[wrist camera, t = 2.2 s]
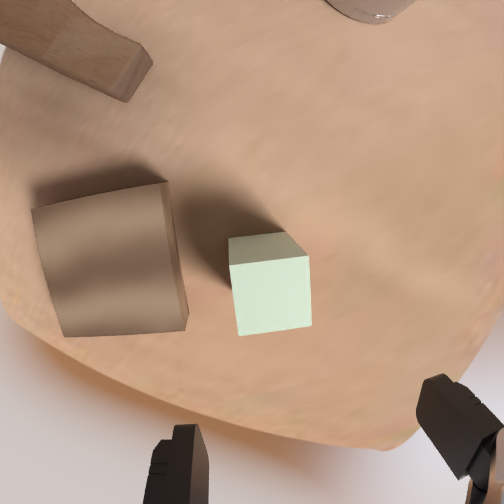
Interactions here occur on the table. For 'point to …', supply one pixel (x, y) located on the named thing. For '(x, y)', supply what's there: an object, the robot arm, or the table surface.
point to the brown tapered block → (113, 263)
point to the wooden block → (74, 45)
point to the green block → (269, 283)
